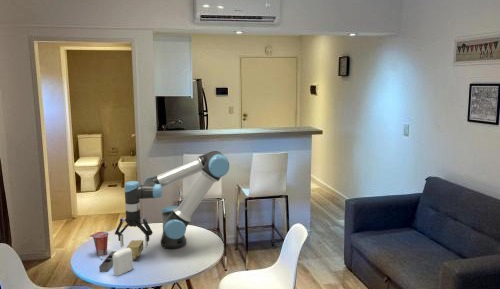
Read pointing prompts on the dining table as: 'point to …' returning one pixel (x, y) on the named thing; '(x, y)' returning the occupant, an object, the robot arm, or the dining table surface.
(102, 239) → the cup
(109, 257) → the rail
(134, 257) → the mottled tan brick
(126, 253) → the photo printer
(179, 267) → the dining table surface
